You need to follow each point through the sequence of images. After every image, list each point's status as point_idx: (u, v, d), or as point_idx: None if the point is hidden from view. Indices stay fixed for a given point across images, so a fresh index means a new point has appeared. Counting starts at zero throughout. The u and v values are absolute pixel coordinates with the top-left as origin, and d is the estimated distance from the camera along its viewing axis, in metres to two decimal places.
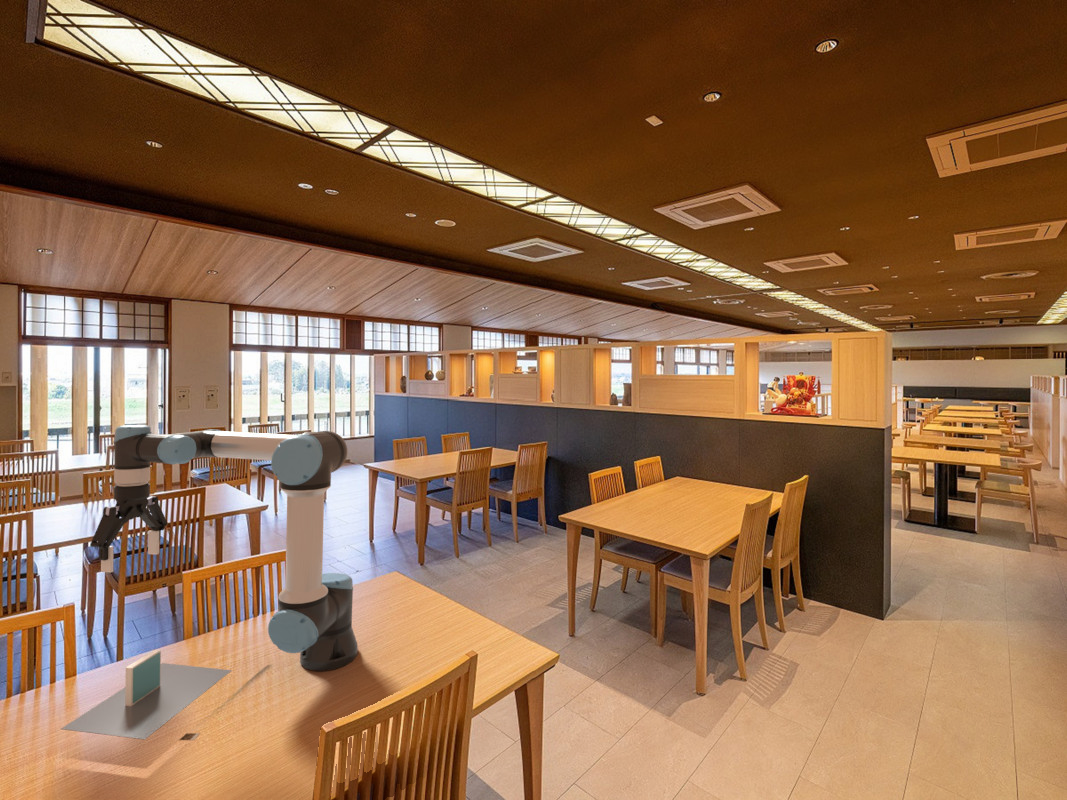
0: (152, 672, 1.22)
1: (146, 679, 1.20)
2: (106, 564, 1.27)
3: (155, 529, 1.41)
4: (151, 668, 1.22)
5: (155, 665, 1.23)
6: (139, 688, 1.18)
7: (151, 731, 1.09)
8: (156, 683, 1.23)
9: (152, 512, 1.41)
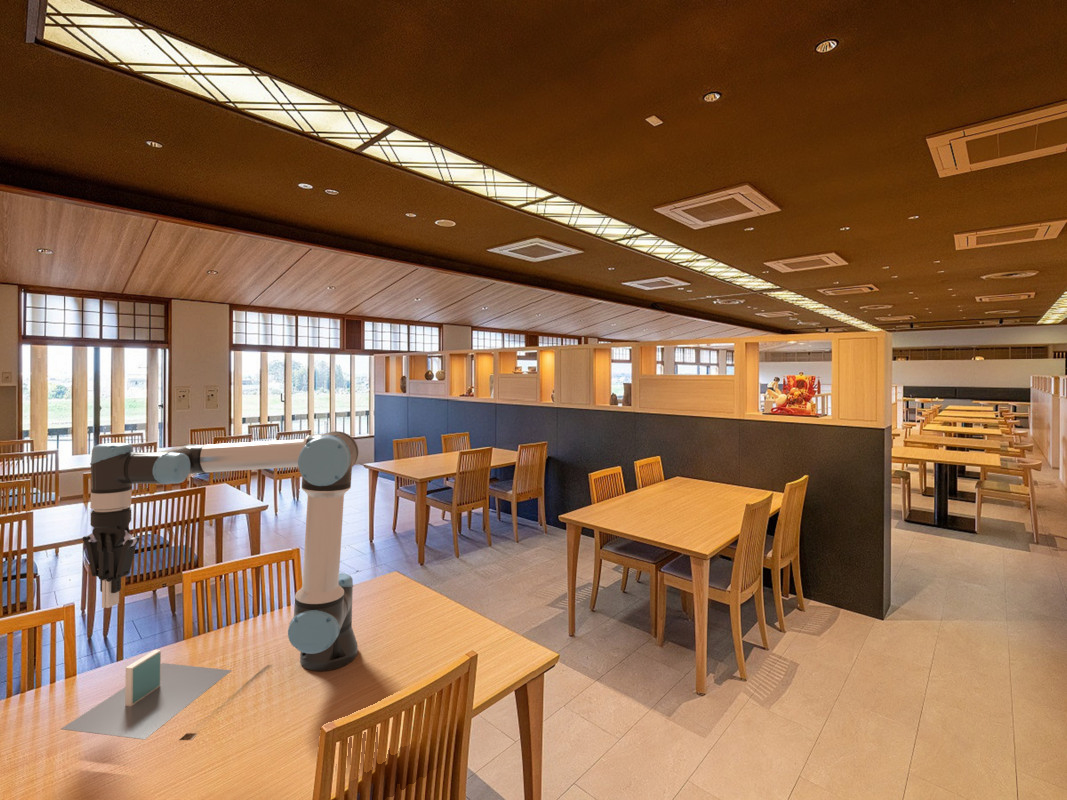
0: (152, 672, 1.22)
1: (146, 679, 1.20)
2: None
3: None
4: (151, 668, 1.22)
5: (155, 665, 1.23)
6: (139, 688, 1.18)
7: (151, 731, 1.09)
8: (156, 683, 1.23)
9: None
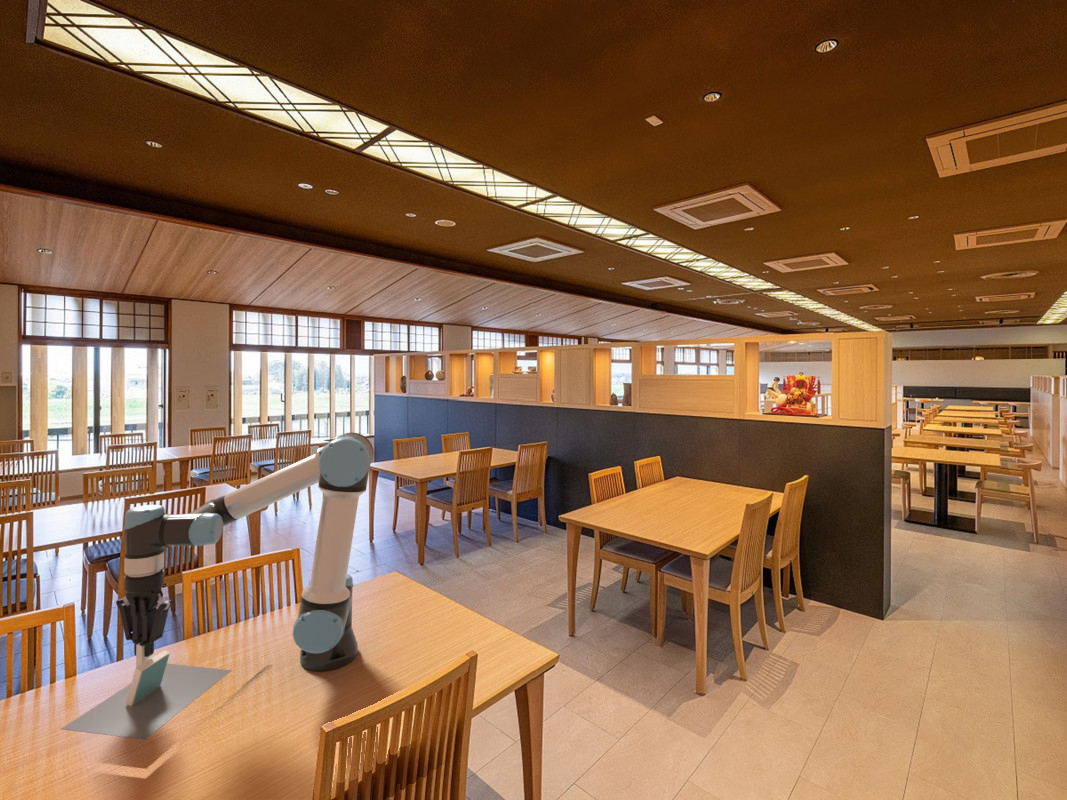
0: (157, 674, 1.22)
1: (151, 680, 1.20)
2: None
3: None
4: (157, 670, 1.21)
5: (161, 667, 1.22)
6: (142, 689, 1.18)
7: (151, 731, 1.09)
8: (157, 684, 1.23)
9: None
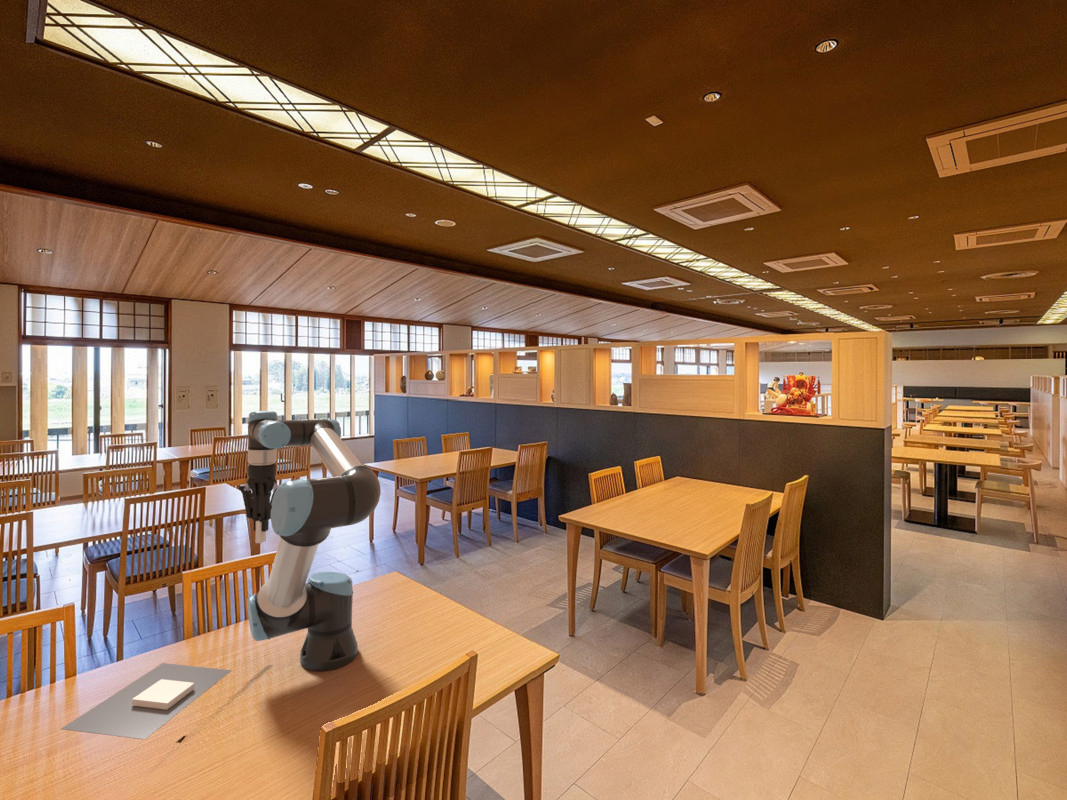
0: None
1: None
2: None
3: None
4: None
5: None
6: None
7: (151, 731, 1.09)
8: None
9: None
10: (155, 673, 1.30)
